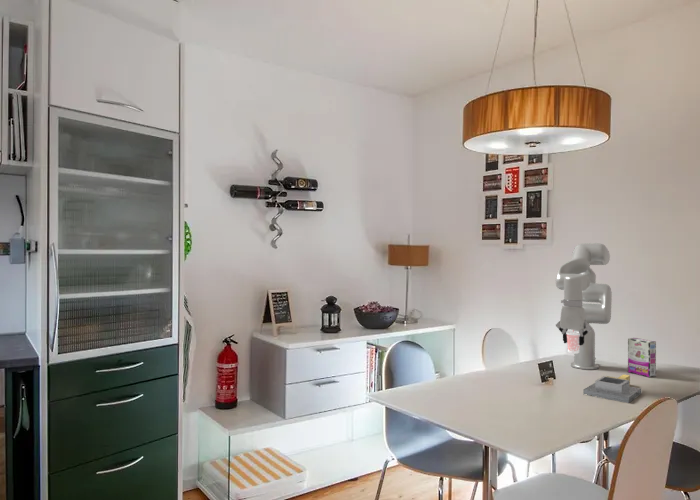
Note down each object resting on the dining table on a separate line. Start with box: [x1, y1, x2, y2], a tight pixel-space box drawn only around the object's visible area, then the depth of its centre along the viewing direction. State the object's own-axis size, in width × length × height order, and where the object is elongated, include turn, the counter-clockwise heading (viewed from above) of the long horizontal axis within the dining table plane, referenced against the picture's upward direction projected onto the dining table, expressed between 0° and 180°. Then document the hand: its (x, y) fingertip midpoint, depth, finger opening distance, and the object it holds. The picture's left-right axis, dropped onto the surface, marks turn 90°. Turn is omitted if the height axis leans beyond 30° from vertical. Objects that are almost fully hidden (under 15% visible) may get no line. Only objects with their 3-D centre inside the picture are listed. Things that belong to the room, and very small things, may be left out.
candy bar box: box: [627, 337, 657, 378], centre depth 243 cm, size 11×5×16 cm, turn 25°
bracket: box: [606, 374, 631, 386], centre depth 221 cm, size 14×8×6 cm, turn 136°
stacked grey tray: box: [583, 375, 642, 404], centre depth 213 cm, size 17×17×6 cm
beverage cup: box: [566, 330, 580, 355], centre depth 230 cm, size 6×6×14 cm
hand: (573, 343), depth 230 cm, fingers closed on beverage cup, 6 cm apart
